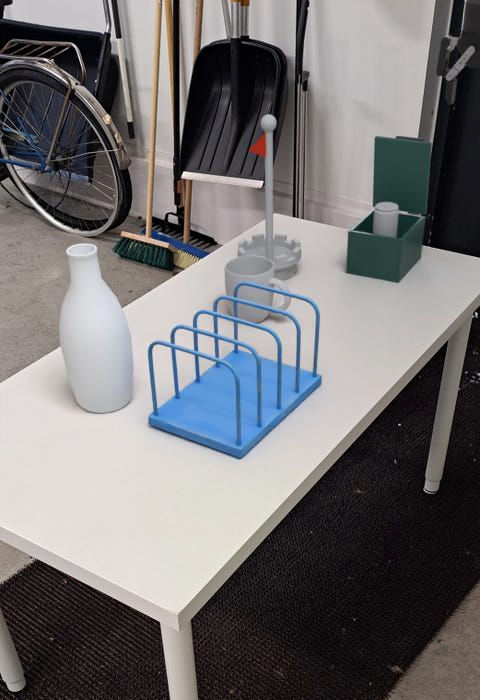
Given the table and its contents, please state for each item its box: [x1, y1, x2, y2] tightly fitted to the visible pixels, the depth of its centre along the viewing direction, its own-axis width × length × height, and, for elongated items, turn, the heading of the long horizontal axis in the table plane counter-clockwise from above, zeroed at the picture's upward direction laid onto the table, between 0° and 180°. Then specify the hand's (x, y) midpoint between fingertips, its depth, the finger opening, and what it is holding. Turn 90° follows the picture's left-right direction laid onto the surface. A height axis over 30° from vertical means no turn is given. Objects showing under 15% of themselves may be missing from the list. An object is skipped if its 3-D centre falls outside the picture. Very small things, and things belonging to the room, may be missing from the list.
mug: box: [224, 256, 292, 324], centre depth 157 cm, size 13×9×10 cm
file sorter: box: [147, 281, 323, 458], centre depth 133 cm, size 25×17×15 cm
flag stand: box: [236, 113, 302, 281], centre depth 167 cm, size 13×13×30 cm
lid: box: [372, 135, 433, 216], centre depth 171 cm, size 14×11×5 cm
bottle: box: [58, 243, 134, 414], centre depth 132 cm, size 11×11×25 cm
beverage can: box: [373, 202, 400, 238], centre depth 171 cm, size 5×5×12 cm
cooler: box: [345, 207, 427, 284], centre depth 174 cm, size 13×11×9 cm
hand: (474, 105), depth 150 cm, fingers open, 8 cm apart
